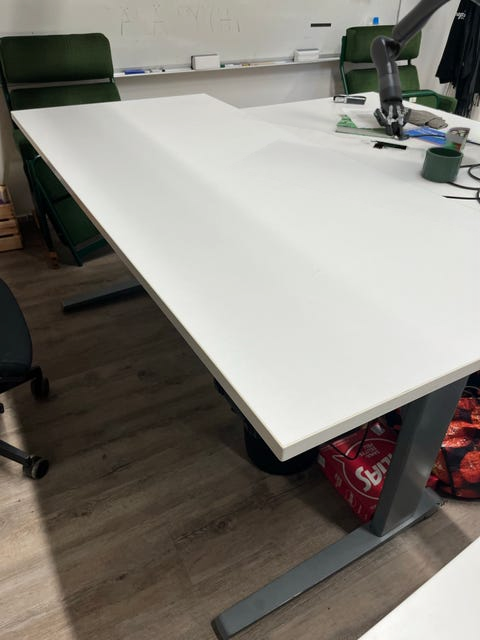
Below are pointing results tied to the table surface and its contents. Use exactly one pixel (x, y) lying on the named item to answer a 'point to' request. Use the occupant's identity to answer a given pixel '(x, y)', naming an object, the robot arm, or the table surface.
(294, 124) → the table surface
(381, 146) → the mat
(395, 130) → the lid
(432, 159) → the pot
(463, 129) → the food container
